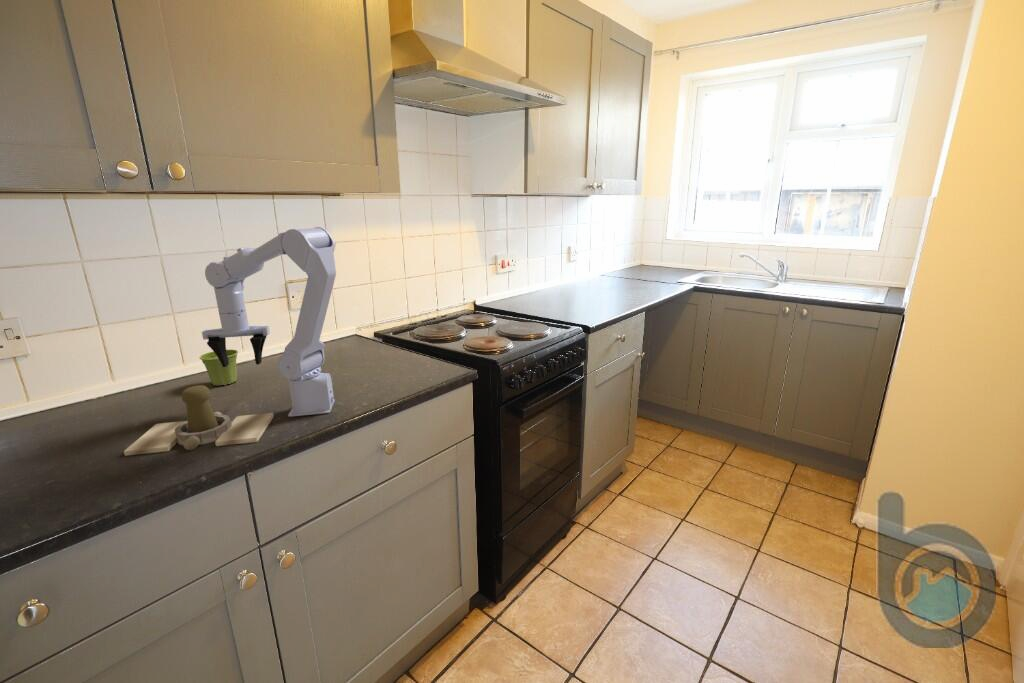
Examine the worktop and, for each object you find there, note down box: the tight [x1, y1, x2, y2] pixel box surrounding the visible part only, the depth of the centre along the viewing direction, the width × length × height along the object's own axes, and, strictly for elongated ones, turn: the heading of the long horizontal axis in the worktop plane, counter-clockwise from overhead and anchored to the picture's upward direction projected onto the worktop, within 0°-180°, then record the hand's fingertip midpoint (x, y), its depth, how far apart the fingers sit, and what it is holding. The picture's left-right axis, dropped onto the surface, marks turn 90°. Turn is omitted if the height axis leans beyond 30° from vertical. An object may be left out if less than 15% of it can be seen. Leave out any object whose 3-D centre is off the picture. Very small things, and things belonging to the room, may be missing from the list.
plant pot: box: [199, 349, 239, 386], centre depth 136 cm, size 9×9×9 cm
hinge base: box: [123, 411, 275, 457], centre depth 105 cm, size 25×14×2 cm, turn 101°
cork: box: [181, 384, 219, 433], centre depth 105 cm, size 6×6×11 cm
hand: (242, 364), depth 120 cm, fingers open, 7 cm apart
